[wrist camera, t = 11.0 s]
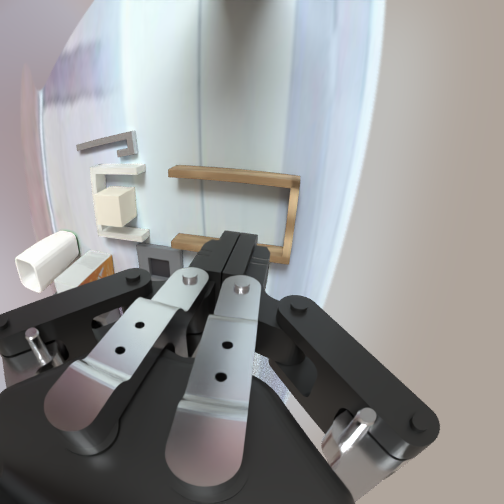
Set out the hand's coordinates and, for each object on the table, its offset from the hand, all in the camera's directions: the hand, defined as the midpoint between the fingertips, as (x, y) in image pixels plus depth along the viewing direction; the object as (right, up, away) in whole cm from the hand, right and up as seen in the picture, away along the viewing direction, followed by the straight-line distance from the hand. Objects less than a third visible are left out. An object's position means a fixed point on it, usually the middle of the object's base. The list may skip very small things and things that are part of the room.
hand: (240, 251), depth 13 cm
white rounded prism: (-40, +2, +43) cm, 59 cm away
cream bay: (-23, +10, +35) cm, 43 cm away
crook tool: (-25, +19, +31) cm, 44 cm away
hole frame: (-17, -3, +41) cm, 44 cm away
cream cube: (-23, +9, +36) cm, 43 cm away
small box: (-32, -3, +44) cm, 54 cm away
